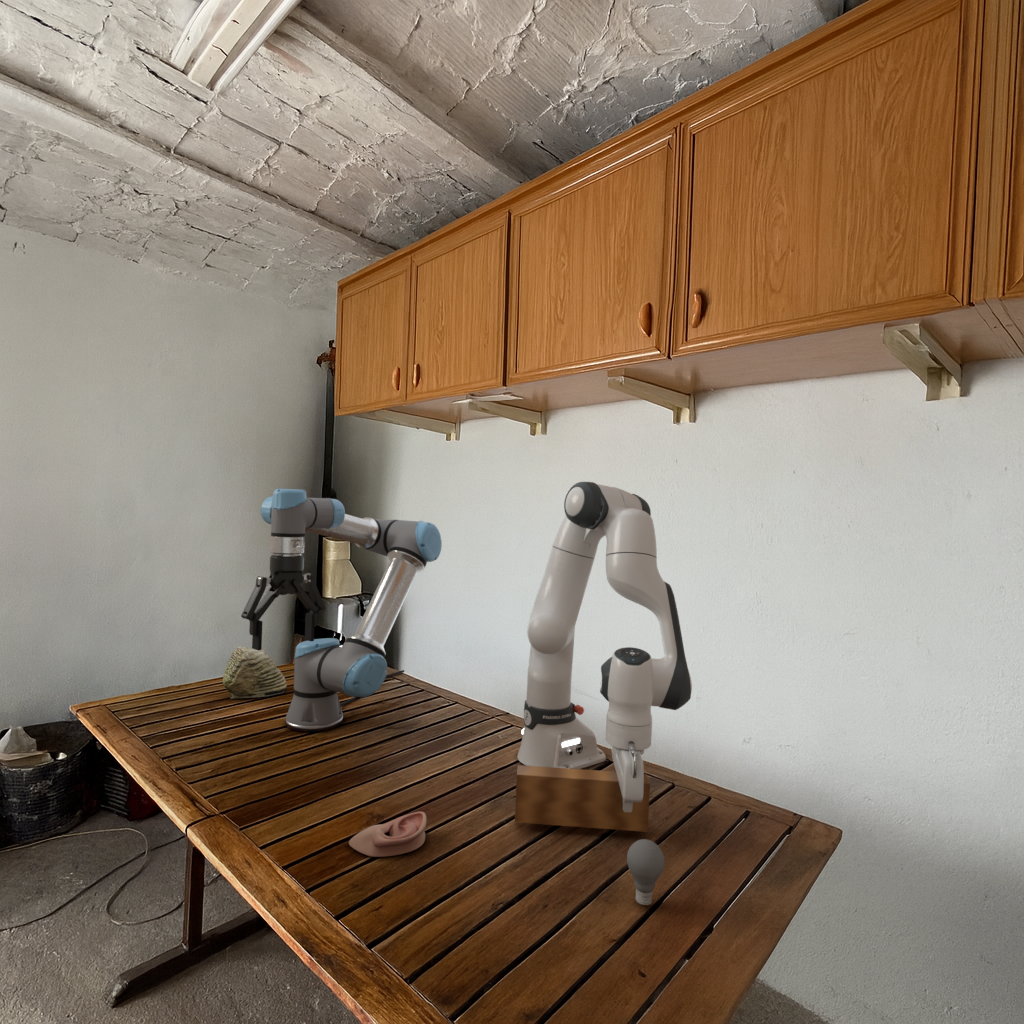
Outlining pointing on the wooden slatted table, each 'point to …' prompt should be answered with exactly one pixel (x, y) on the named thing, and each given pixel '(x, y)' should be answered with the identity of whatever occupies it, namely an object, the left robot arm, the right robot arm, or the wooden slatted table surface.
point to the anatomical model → (392, 836)
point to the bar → (576, 799)
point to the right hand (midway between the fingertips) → (625, 803)
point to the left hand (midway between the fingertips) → (283, 644)
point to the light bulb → (645, 868)
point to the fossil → (252, 674)
